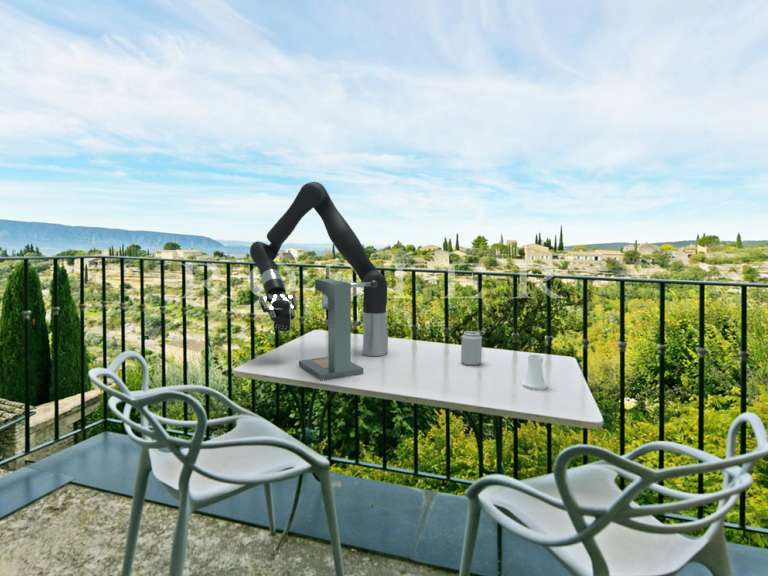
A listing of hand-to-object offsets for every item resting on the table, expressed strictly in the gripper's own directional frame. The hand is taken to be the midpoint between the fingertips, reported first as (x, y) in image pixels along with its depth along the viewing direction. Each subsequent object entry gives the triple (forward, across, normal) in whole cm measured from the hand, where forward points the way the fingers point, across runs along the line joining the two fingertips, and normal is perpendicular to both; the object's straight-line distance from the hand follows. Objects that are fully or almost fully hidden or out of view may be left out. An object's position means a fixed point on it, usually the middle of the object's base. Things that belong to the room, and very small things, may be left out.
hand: (283, 319), depth 180 cm
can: (+36, +62, -11) cm, 72 cm away
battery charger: (+2, 0, +5) cm, 5 cm away
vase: (+57, +62, -33) cm, 90 cm away
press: (+23, +17, +2) cm, 28 cm away
